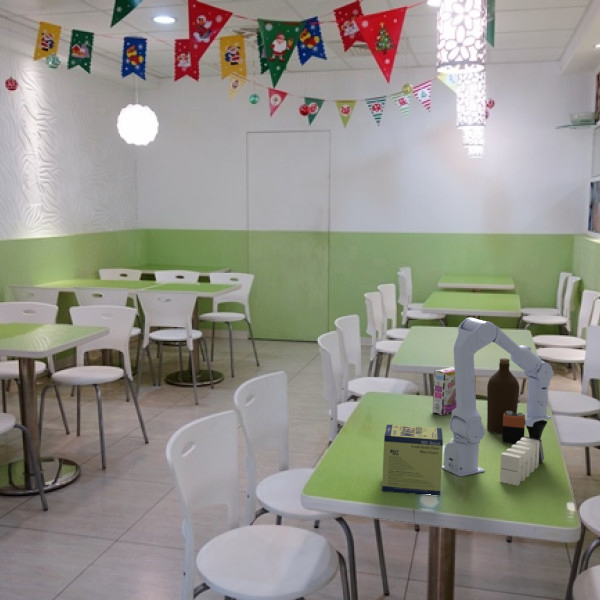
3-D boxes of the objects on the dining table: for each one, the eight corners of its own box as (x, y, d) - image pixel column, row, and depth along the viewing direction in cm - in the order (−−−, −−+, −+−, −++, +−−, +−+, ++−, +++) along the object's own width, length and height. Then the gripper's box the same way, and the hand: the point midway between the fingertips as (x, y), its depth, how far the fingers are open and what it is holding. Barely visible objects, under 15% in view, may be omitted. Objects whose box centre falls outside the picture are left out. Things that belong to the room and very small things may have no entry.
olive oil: (505, 436, 231) (509, 363, 228) (478, 429, 239) (482, 358, 236) (523, 431, 238) (527, 360, 235) (497, 423, 246) (500, 354, 243)
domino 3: (527, 477, 195) (528, 449, 194) (509, 473, 198) (511, 446, 197) (529, 475, 197) (531, 447, 196) (512, 471, 200) (513, 444, 199)
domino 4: (531, 472, 199) (533, 446, 198) (514, 469, 201) (516, 442, 200) (534, 470, 200) (535, 444, 199) (516, 467, 203) (518, 440, 202)
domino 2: (522, 481, 192) (524, 453, 191) (504, 477, 195) (506, 450, 194) (524, 479, 193) (526, 451, 192) (507, 475, 196) (508, 448, 195)
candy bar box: (443, 416, 255) (444, 372, 253) (431, 413, 258) (433, 370, 256) (460, 410, 262) (462, 368, 260) (449, 408, 266) (451, 366, 264)
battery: (502, 438, 229) (503, 409, 228) (523, 441, 227) (525, 411, 226) (501, 442, 225) (503, 412, 224) (523, 445, 223) (525, 415, 222)
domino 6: (527, 455, 211) (524, 436, 207) (544, 458, 208) (541, 439, 204) (525, 459, 209) (522, 441, 205) (542, 463, 206) (539, 444, 202)
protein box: (441, 496, 180) (443, 439, 179) (381, 491, 183) (383, 435, 181) (440, 482, 191) (442, 427, 189) (383, 477, 193) (385, 423, 191)
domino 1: (517, 486, 188) (519, 457, 187) (499, 481, 191) (501, 454, 190) (519, 483, 190) (521, 455, 189) (502, 479, 193) (503, 452, 192)
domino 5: (536, 468, 202) (537, 442, 201) (519, 464, 205) (520, 439, 203) (538, 466, 204) (539, 440, 202) (521, 462, 206) (522, 437, 205)
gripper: (543, 407, 198) (541, 453, 199) (557, 397, 209) (555, 440, 211) (519, 403, 202) (516, 448, 203) (534, 393, 213) (531, 436, 215)
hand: (534, 444), depth 207 cm, fingers closed
